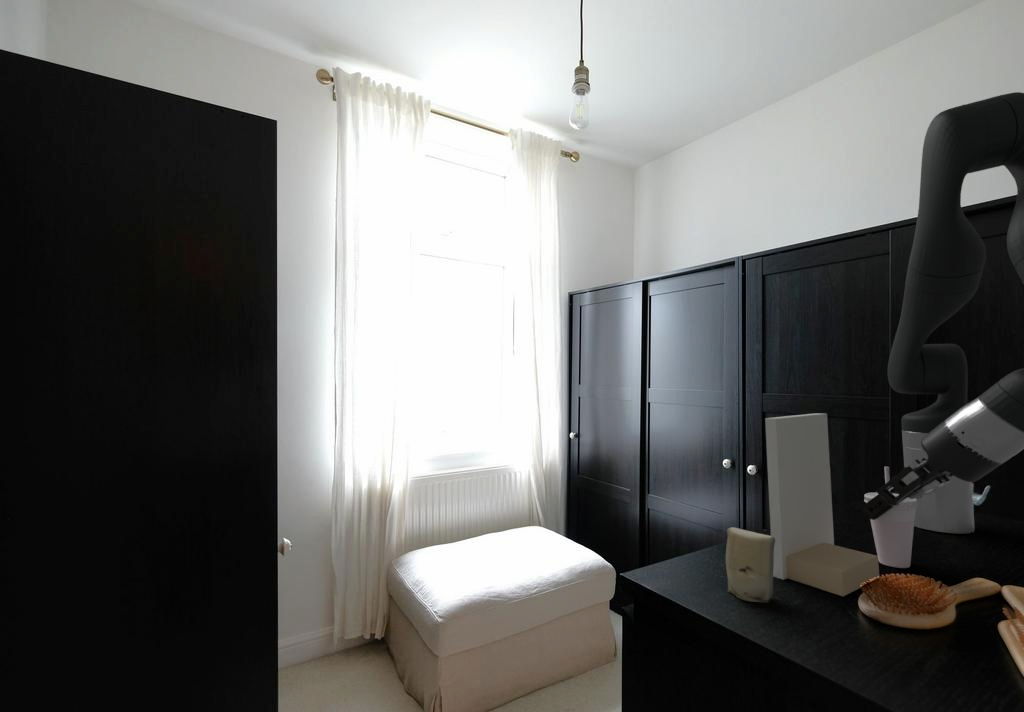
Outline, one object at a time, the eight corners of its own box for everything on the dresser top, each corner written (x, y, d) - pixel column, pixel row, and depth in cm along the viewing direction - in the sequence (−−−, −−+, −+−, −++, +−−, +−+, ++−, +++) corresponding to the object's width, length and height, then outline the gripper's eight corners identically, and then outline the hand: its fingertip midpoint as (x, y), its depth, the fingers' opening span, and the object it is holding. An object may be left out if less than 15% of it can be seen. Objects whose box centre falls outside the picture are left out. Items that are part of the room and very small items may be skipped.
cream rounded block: (769, 588, 65) (766, 526, 65) (783, 606, 60) (780, 539, 60) (723, 586, 66) (720, 525, 66) (733, 603, 61) (730, 537, 61)
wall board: (824, 555, 76) (816, 413, 77) (889, 573, 69) (879, 415, 70) (772, 576, 69) (765, 418, 70) (839, 598, 61) (829, 421, 63)
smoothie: (908, 557, 75) (902, 464, 75) (932, 573, 68) (925, 471, 69) (860, 554, 76) (855, 463, 77) (878, 569, 70) (872, 470, 71)
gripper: (968, 414, 71) (878, 483, 80) (927, 420, 63) (833, 496, 73) (1022, 456, 66) (920, 524, 76) (986, 467, 59) (877, 542, 68)
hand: (878, 510), depth 74 cm, fingers closed on smoothie, 6 cm apart
